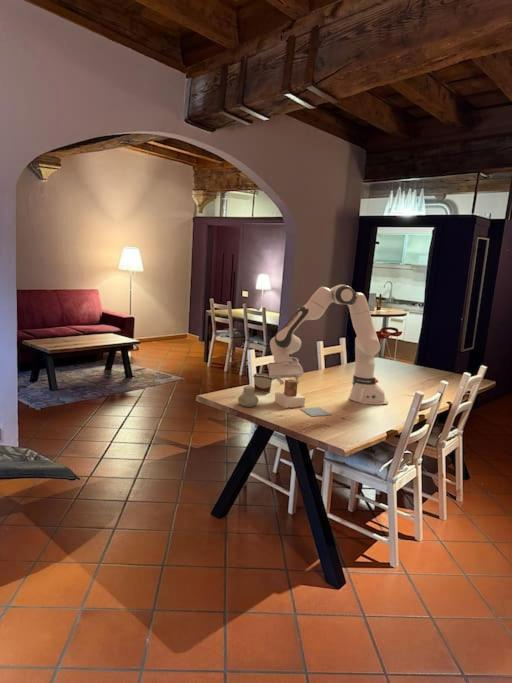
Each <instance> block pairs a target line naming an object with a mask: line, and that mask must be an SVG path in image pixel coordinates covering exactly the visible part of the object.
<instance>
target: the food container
mask: <svg viewBox="0 0 512 683" xmlns="http://www.w3.org/2000/svg"><path fill="white" fill-rule="evenodd" d="M252 378H253V383H254V386H253V387H254V388H255V390H254V392H261V393H266V394H270V392H271V390H272V388H271V387H272V382H273V381H274V378H271V377H270V375H269V373H264V372H260V373H254V374H253V376H252Z"/></svg>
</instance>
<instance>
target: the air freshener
mask: <svg viewBox="0 0 512 683" xmlns="http://www.w3.org/2000/svg"><path fill="white" fill-rule="evenodd" d="M254 390H255V388H254V386H251V385H245V386H244V387H243V392H242V394H241V395H239V396H238V398H237V402H238V403H239V405H241V406H242V407H244V406H245V408H253V407H255V406H257V405H258V404H259V398H258V396H257V395H255V391H254Z"/></svg>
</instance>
